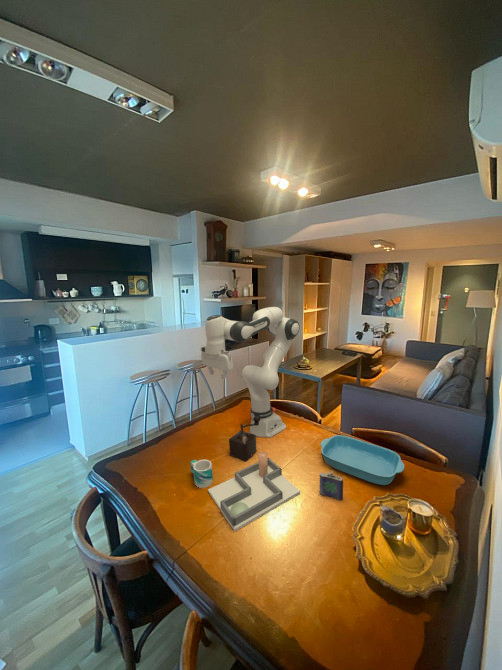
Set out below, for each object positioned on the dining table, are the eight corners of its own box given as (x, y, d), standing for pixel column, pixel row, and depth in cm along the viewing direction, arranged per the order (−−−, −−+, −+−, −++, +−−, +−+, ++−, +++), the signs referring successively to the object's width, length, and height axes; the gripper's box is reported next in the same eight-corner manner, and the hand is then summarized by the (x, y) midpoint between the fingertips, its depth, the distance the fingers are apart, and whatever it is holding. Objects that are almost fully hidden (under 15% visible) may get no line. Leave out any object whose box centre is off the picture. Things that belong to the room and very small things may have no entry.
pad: (242, 500, 108) (242, 499, 108) (252, 512, 103) (252, 511, 102) (227, 508, 105) (227, 507, 105) (236, 521, 99) (236, 520, 99)
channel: (267, 464, 131) (267, 456, 131) (300, 493, 112) (300, 484, 112) (208, 492, 115) (207, 483, 114) (234, 531, 96) (234, 521, 95)
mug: (201, 491, 116) (199, 473, 114) (186, 477, 124) (184, 461, 123) (216, 481, 121) (215, 464, 120) (201, 469, 130) (199, 453, 128)
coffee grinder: (247, 462, 133) (245, 428, 130) (229, 455, 139) (227, 423, 136) (263, 446, 146) (262, 415, 143) (246, 440, 152) (244, 410, 149)
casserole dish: (312, 464, 131) (312, 450, 129) (330, 442, 148) (330, 430, 147) (397, 498, 108) (398, 482, 107) (407, 468, 125) (408, 454, 124)
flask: (318, 494, 111) (319, 471, 109) (320, 489, 114) (320, 467, 112) (342, 501, 107) (343, 477, 106) (343, 496, 110) (344, 472, 108)
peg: (264, 470, 125) (263, 450, 124) (269, 475, 122) (269, 454, 120) (257, 473, 123) (256, 453, 122) (262, 478, 120) (261, 458, 118)
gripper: (235, 350, 127) (237, 378, 129) (208, 345, 140) (210, 370, 143) (225, 353, 122) (227, 382, 125) (198, 347, 136) (200, 373, 139)
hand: (217, 376), depth 134 cm, fingers open, 8 cm apart
